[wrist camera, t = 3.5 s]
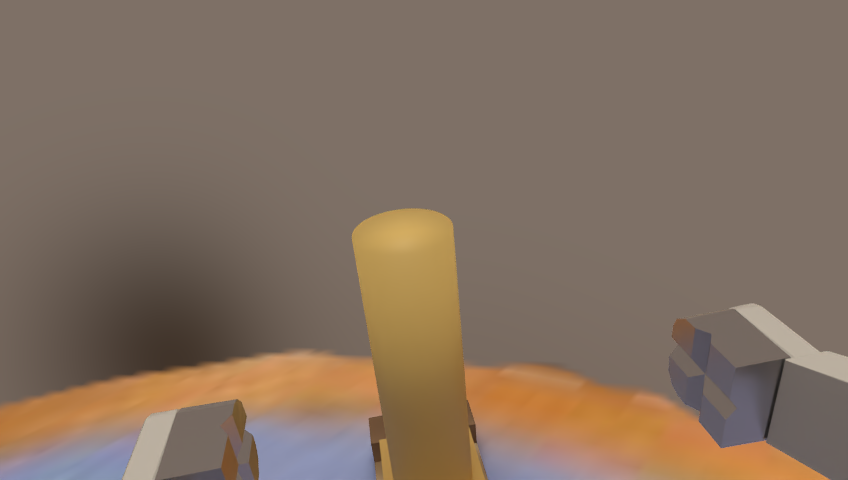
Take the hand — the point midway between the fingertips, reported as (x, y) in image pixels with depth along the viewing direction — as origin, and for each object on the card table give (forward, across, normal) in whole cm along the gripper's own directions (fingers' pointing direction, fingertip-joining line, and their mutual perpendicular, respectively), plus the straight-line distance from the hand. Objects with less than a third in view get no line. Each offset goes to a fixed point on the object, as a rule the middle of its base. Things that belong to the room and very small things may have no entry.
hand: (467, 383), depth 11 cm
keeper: (+12, 0, +19) cm, 22 cm away
